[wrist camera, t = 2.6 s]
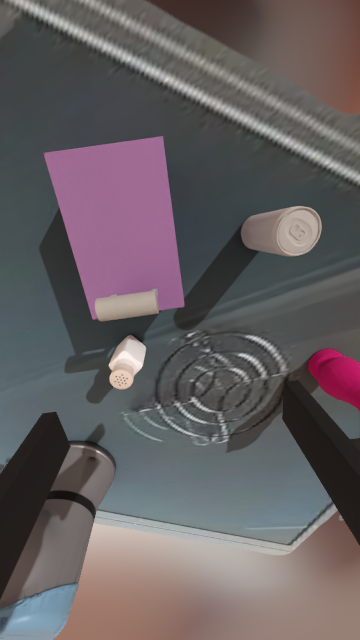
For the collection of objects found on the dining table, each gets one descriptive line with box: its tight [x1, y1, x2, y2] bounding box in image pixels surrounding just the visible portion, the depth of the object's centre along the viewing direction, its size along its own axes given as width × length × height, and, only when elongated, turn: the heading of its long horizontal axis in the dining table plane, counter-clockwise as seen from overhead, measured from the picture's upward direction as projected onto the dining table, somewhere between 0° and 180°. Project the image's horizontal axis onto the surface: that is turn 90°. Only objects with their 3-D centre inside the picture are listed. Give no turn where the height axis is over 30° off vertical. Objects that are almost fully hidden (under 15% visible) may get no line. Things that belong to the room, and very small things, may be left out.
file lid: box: [44, 136, 185, 321], centre depth 23 cm, size 18×12×7 cm
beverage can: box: [241, 206, 322, 256], centre depth 28 cm, size 5×5×12 cm
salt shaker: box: [109, 335, 146, 389], centre depth 35 cm, size 4×4×10 cm
